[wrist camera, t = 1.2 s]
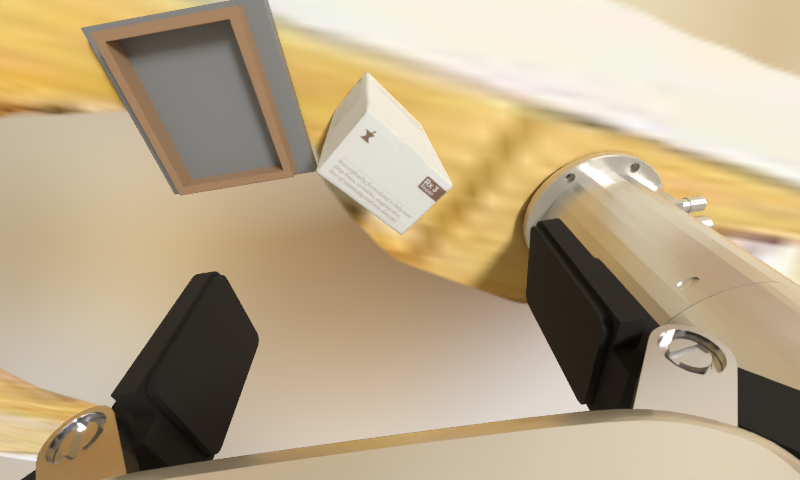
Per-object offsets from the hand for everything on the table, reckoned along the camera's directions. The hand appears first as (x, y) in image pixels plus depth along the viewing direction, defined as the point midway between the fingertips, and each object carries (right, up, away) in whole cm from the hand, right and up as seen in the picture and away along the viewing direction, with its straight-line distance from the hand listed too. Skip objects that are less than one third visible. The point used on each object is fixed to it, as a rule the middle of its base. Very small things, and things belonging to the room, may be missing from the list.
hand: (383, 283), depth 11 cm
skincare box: (-1, +11, +17) cm, 20 cm away
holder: (-13, +12, +15) cm, 23 cm away
